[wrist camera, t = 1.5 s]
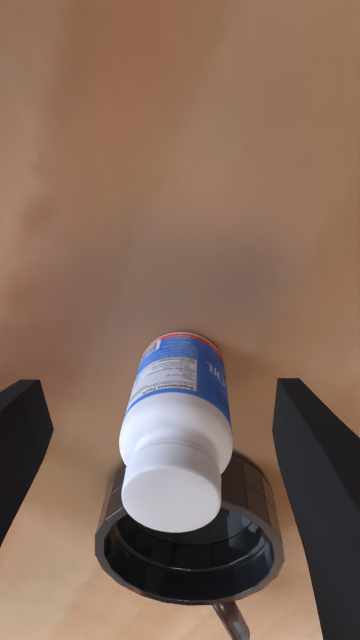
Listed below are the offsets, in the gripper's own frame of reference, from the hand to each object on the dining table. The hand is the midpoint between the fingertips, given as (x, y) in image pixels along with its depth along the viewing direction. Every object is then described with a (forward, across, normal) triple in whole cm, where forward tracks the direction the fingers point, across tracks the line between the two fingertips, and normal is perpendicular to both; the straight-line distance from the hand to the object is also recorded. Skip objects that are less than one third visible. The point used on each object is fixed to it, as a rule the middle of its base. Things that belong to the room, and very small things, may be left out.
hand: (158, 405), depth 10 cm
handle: (+8, -3, +30) cm, 31 cm away
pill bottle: (+11, 0, +6) cm, 12 cm away
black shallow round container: (+10, 0, +19) cm, 22 cm away
